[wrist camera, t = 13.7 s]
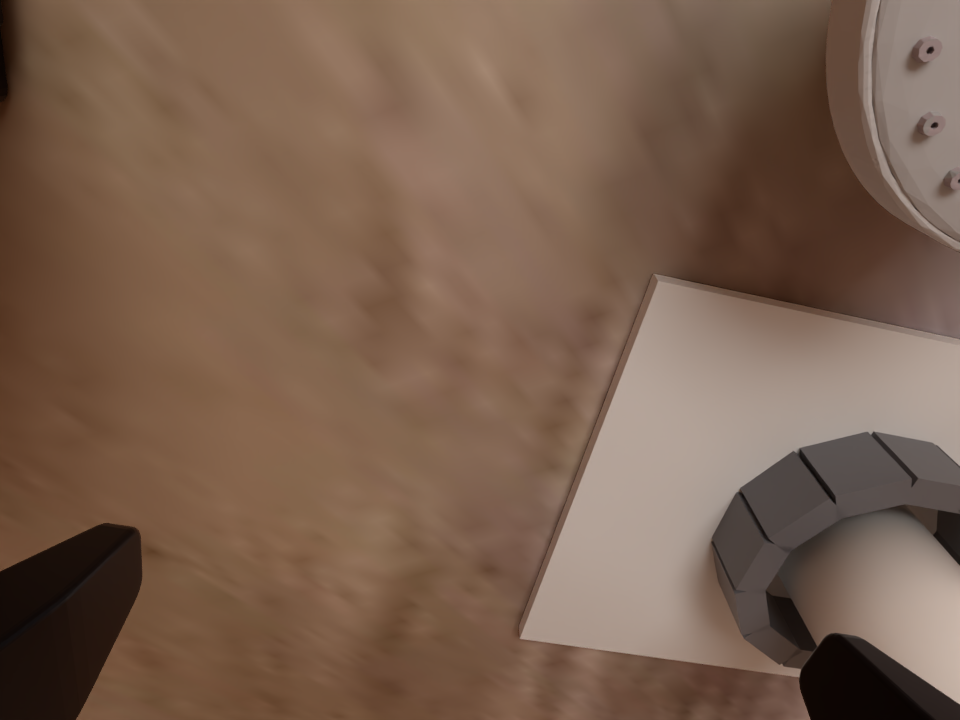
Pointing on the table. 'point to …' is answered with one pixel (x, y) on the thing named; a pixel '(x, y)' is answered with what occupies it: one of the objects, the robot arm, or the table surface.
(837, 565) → the canister
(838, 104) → the showerhead
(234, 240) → the table surface
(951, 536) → the socket
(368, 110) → the table surface
